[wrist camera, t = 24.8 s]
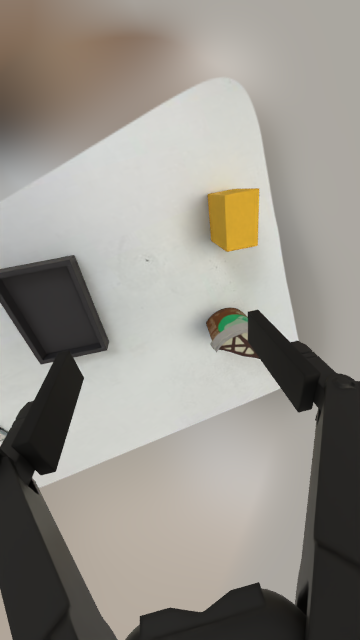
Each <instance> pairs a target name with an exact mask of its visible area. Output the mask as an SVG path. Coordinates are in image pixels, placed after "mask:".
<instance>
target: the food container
mask: <svg viewBox="0 0 360 640" xmlns="http://www.w3.org/2000/svg"><path fill="white" fill-rule="evenodd" d="M206 324H207V327H208V330H209V333H210V336H211V339H212V342H211V344H210V345H211V346H212V348H213V349H214V350H215V351H216V352H217V351H218V350H225V351H229V352H232V353H235V354H238V355H241V356H246V357H253V358H258V359H260V358H259V357H258V355H257V354H256V352H255V351H254V350H253V348H252V347H251V345H250V344H249V343H248V317H247V316H246V315H245V314H244V313H243V312H241V311H240V310H238V309H236V308H225V309H221V310H219V311H217V312H216V313H214V314H213V315H212V316H211V317H210V318H209V319H208V321H207V322H206Z"/></svg>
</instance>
